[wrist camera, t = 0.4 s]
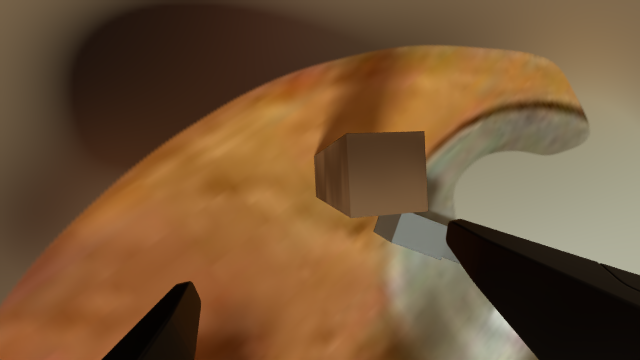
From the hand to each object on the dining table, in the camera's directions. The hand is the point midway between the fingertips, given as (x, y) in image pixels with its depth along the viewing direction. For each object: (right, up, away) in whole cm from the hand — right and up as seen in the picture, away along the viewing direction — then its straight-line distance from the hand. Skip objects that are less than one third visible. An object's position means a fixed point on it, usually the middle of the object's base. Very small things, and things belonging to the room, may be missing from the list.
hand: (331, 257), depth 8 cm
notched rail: (+13, -4, +17) cm, 22 cm away
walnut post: (+1, +3, +15) cm, 16 cm away
